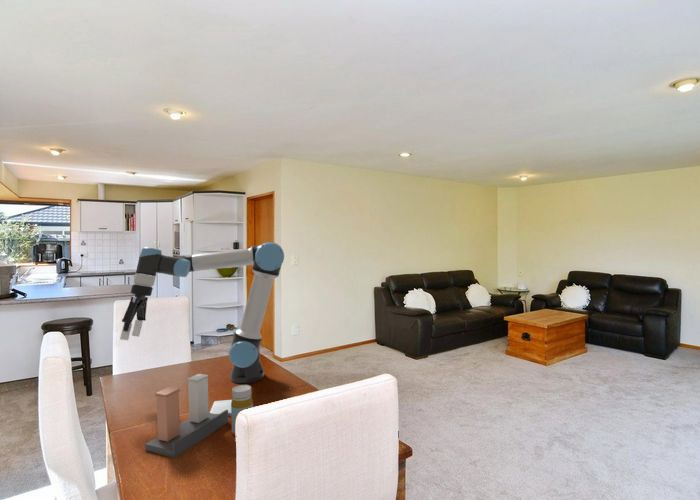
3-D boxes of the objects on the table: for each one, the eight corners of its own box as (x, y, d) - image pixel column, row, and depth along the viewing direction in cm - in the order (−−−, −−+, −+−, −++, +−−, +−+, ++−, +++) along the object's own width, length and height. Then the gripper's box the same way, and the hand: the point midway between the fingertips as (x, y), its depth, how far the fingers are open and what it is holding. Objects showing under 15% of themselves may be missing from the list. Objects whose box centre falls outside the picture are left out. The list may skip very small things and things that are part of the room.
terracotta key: (170, 431, 128) (169, 386, 128) (181, 433, 126) (179, 388, 126) (157, 439, 123) (155, 393, 123) (167, 442, 121) (165, 395, 121)
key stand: (201, 416, 143) (201, 404, 143) (228, 422, 139) (228, 409, 139) (145, 450, 121) (144, 436, 121) (174, 457, 117) (174, 443, 117)
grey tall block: (199, 414, 140) (198, 373, 140) (209, 416, 138) (208, 375, 138) (188, 421, 135) (187, 378, 135) (198, 423, 133) (197, 380, 133)
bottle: (231, 439, 127) (230, 393, 127) (232, 429, 134) (230, 385, 133) (254, 435, 129) (252, 390, 128) (253, 425, 136) (251, 383, 135)
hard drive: (231, 412, 144) (235, 399, 156) (208, 414, 143) (214, 400, 155) (231, 417, 144) (235, 403, 156) (208, 419, 143) (214, 404, 155)
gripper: (142, 284, 171) (130, 333, 168) (122, 282, 147) (107, 339, 143) (160, 287, 172) (148, 336, 169) (143, 286, 148) (129, 342, 145)
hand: (129, 337), depth 156 cm, fingers open, 13 cm apart
